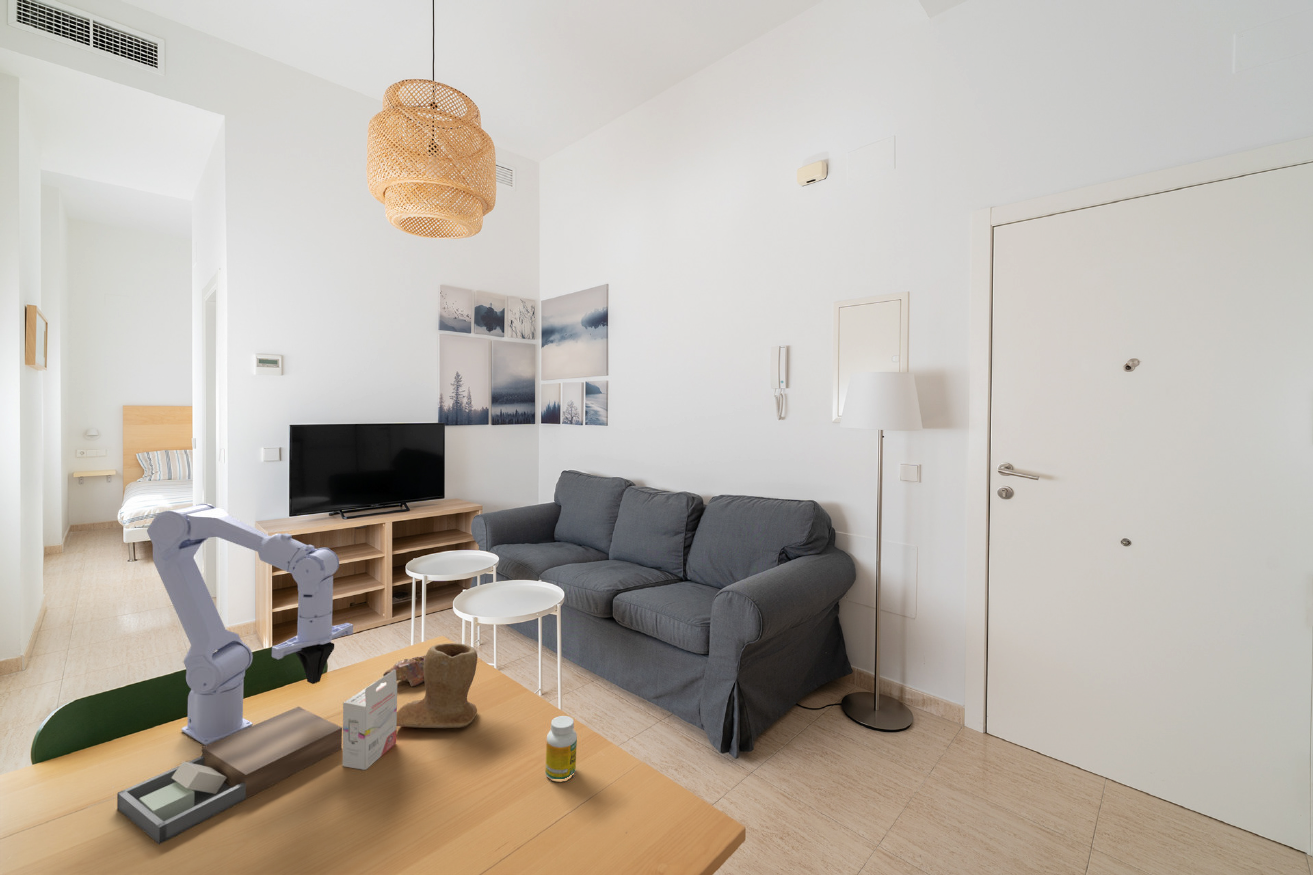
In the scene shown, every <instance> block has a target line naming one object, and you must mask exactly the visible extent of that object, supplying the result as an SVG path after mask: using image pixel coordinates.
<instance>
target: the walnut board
mask: <svg viewBox="0 0 1313 875" xmlns="http://www.w3.org/2000/svg"><path fill="white" fill-rule="evenodd" d="M201 750H202V751H201V756H203V757H204V766H207V767H211V768H212V769H214V770H216V771H217V772H219V773H221V774H222V775H224V776H225V777H227V778H226V779H225V781H224V783H226V784H227V785H229V786H230V787H232V788H233V787H235V786H237V785H239V784H241V783H245V784H246V795H245V800H246V799H249V798H250V797H252V796H254V795H256V794H258V793H260V792H261V791H263V790H265V789H267V788H269V787H271V786H273V785H275V784H277V783H279V782H281V781H283V780H284V779H287V778H288V777H290V776H293V775H294V774H296V773H299V772H300V771H301V770H303V769H306V768H307V767H309V766H311V765H312V764H313V765H314V763H317V762H319V761H321V760H323V759H325V758H326V757H328V756H330V755H332V754H334V753H336V752H338V751H339V750H343V726H340V725H337V724H336V723H333V722H331V721H329V720H327V719H325V718H323V717H321V716H319V715H317V714H315V713H313V712H312V711H311V712H310V711H309V710H307V709H304V708H302V707H300V706H296V707H294V708H291V709H288V710H287V711H285V712H282V713H280V714H278V715H275V716H273V717H270V718H268V719H266V720H263V721H261V722H259V723H256V724H253V725H252V726H251V727H248V728H246V729H244V730H241V731H239V732H237V733H234V734H232V735H229V736H227V737H225V738H222V739H220V740H218V741H215V742H213V743H211V744H208V745H204V746H202V748H201Z"/></svg>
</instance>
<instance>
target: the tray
mask: <svg viewBox="0 0 1313 875" xmlns="http://www.w3.org/2000/svg"><path fill="white" fill-rule="evenodd" d="M187 762H188V763H193V764H197V765H202V766H204V757H203V756H202V755H201V756H198V757H196V758H194V759H191V760H189V761H187ZM179 766H180V765H178V766H175V767H173V768H171V769H169V770H166V771H164V772H162V773H160V774H157V775H154V776H152V777H151V778H148V779H146V780H143V781H141V782H138V783H136V784H134V785H132V786H130V787H128V788H125V789H123V790H120V791H118V792H117V799H116V800H117V802H116V804H117V806H116V808H117V809H118V810H119V811H120V812H121V813H122V814H123V815H124V816H125V817H127V818H128V819H129V820H130V821H131V822H132V823H134V825H136V826H137V827H138V828H140V829H141V830H142V831H143V832H144V833H145V834H147V835H148V836H149V837H150V838H151V839H153V840H154V841H155V842H156V843H157V844H158V845H161V844H162V843H165V842H166V841H169V840H170V839H172V838H174V837H176V836H178V835H180V834H181V833H184V832H186V831H188V830H189V829H192V828H193V827H195V826H197V825H199V824H201V823H202V822H205V821H206V820H208V819H210V818H213V817H214V816H216V815H218V814H220V813H222V812H223V811H225V810H228V809H229V808H231V807H233V806H235V805H237V804H239V803H241V802H243V801H244V800H246V799H245V795H246V784H245V783H241V784H239V785H237V786H235V787H233V788H232V787H230V786H229V785H227V784H226V783H224V782H223V784H222V785H221V787H220V788H219V790H218V791H217V793H216V794H214V793H208V792H203V791H198V790H193V791H194V807H192V808H190V809H188V810H186V811H184V812H182V813H180V814H178V815H176V816H174V817H172V818H170V819H168V820H166V821H162V820H161V819H160V818H159V817H157V816H156V815H155V814H154V813H152V812H151V811H150V810H149V809H147V808H146V807H145V806H144V805H143V804H141V803H140V802H139V798H141V797H143V796H146V795H148V794H150V793H152V792H155V791H157V790H159V789H161V788H164V787H166V786H168V785H170V784H173V783H175V782H177V781H175V780H174V779H172V776H173V775H174V773H175V772H176V771H177V769H178V768H179Z"/></svg>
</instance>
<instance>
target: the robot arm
mask: <svg viewBox="0 0 1313 875" xmlns="http://www.w3.org/2000/svg"><path fill="white" fill-rule="evenodd" d="M146 533H147V534H148V535H147V536H148V538H149V539H150V542H151V543H152V561H153V563H154V566H155V568H156V570H157V572H158V575H159V577H160V579H161V582H162V584H163V586H164V588H165V591H166V592H167V596H168V597H169V599H170V601H171V603H172V606H173V608H174V610H175V613H176V614H177V617H178V619H179V621H180V623H181V625H182V628H183V631H184V632H185V635H186V637H187V640H188V642H189V644H190V646H189V647H190V648H189V649H188V650H187V653H186V655H185V657H184V659H183V661H182V662H183V665H184V666H185V670H186V671H185V672H186V674H185V680H186V683H187V686H188V687H189V688H190V691H189V693H188V696H187V725H186V726H183V727H181V732H183V733H185V734H186V735H188V736H190V737H191V738H193V739H195V741H197V742H199V743H201V745H202V744H203V745H204V746H207V745H209V744H211V743H214V742H216V741H218V740H221V739H223V738H225V737H228V736H230V735H232V734H235V733H237V732H239V731H242V730H244V729H247V728H249V727H251V726H254V724H253V723H254V722H252V721H249V720H248V719H246V718H244V717H243V715H244V679H245V678H244V677H246V670H247V669H248V668H249V667H250V666H251V665H252V663H253V658H254V656H253V652H252V649H251V648H250V647H249V646H248V645H247V644H246V643H245V642H243V640H242V639H241V637H240V635H239V634H238V633H236V632H233V631H230V630H227V629H226V626H225V625H224V623H223V622H224V621H223V620H222V618H221V616H220V614H219V611H218V609H217V607H216V605H215V602H214V600H213V598H212V596H211V593H210V591H209V589H208V587H207V584H206V583H205V580H204V578H203V576H202V573H201V572H200V571H201V570H200V568H199V567H198V564H197V562H196V559H195V555H196V553H197V551H198V550H199V549H200V547H201V545H202V544H203V543H205V542H206V541H207V540H208V539H209V538H220V539H221V540H225V541H227V542H230V543H233V544H235V545H238V546H241V547H243V548H247V549H249V550H251V551H255V552H257V553H258V557H259V558H258V559H259V560H260V561H262V562H264V563H266V564H268V565H270V566H273V567H275V568H278V569H280V570H282V571H285V572H287V573H289V574H291V575H292V579H293V580H294V581H295V583H296V584H297V592H298V595H297V596H298V598H297V599H298V600H297V633H296V634H297V635H295V636H293V637H292V638H289V639H287V640H285V641H283V642H281V643H279V644H277V645H274V646H272V647H271V657H272V658H273V659H276V660H280V659H283V658H284V657H286V656H287V655H290V654H293V653H294V654H295V655H296V656H297V658H298V659H299V661H300V663H301V665H302V668H303V669H304V670H303V671H304V672H305V677H306V681H307V682H308V683H309V684H311V685H314V684H317V683H319V682H321V679H322V676H323V672H324V669H325V667H326V664H327V662H328V660H329V658H330V657H331V654H332V653H333V651H334V650H335V643H334V642H332V640H334V639H338V638H340V637H343V636H350V635H353V634H354V624H352V623H349V622H345V623H342V624H337V625H333V604H334V602H333V600H334V599H333V597H334V596H333V595H334V574H335V573H336V572H337V571H338V569H339V567H340V558H339V556H338V555H337V553H336V552H335V551H333V550H331V549H330V547H320V548H315V545H312V544H306V543H303V542H301V541H299V540H297V539H294V538H292V536H293V535H292V534H290V533H287V532H285V533H274V534H272V535H269V534H267V533H265V532H263V531H261V530H260V529H258V528H255V527H254V526H251V525H249V524H247V523H246V522H244V521H241V520H239V519H238V518H235V517H233V516H232V515H230V514H228V512H227V511H226V510H225V509H223V508H220V507H217V506H215V505H213V504H211V503H199V504H196V505H192V506H187V507H181V508H177V509H173V510H172V509H171V510H164V511H162V512H159V513H158V514H157V515H156V516H155V517H154V518H153V520H152V521H151V523H150V524H149V526H148V527H147V529H146Z"/></svg>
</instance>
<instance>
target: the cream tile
mask: <svg viewBox="0 0 1313 875" xmlns="http://www.w3.org/2000/svg"><path fill="white" fill-rule="evenodd" d="M188 762H189V761H184V760H183V761H182V762H181V764H180V765H178V766H179V768H178V769H177V771H176V772H175V773H174V775H173V776H172V779H174V780H175V781H177V782H178V783H180V784H181V785H183V786H184V787H186V788H187V789H192V790H198V791H203V792H208V793H214V794H216V793H217V791H218V790H219V788H220V787H221V785H222V784H223V782H224V781H225V779H226V778H227V777H225V776H224V775H222V774H221V773H219V772H217V771H216V770H214V769H212V768H211V767H207V766H202V765H197V764H193V763H188Z"/></svg>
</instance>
